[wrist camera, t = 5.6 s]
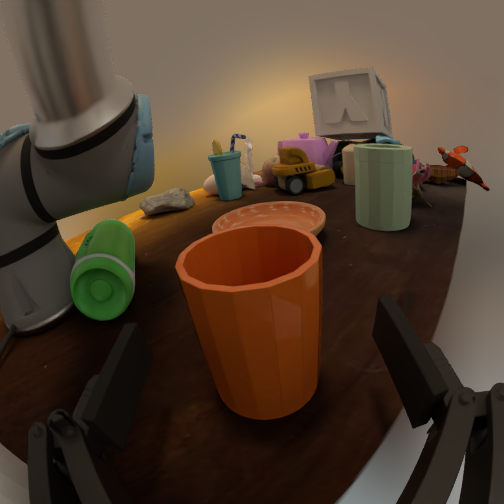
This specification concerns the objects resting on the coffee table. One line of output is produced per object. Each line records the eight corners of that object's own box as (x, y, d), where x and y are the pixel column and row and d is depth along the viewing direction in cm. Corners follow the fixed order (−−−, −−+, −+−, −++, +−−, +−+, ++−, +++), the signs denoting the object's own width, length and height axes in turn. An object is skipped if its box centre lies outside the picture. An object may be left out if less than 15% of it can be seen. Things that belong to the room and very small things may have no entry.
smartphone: (237, 186, 72) (234, 175, 85) (238, 189, 72) (235, 178, 85) (265, 182, 72) (258, 173, 85) (265, 186, 72) (258, 176, 86)
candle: (344, 180, 68) (341, 143, 64) (364, 180, 66) (362, 143, 62) (343, 185, 64) (341, 145, 60) (365, 185, 62) (364, 145, 58)
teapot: (268, 178, 80) (263, 136, 74) (293, 170, 88) (288, 132, 82) (328, 183, 67) (324, 133, 61) (348, 174, 74) (345, 131, 69)
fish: (446, 126, 54) (446, 141, 66) (427, 162, 60) (429, 171, 72) (502, 169, 46) (493, 177, 57) (483, 206, 51) (476, 209, 63)
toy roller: (339, 186, 62) (335, 142, 57) (285, 198, 59) (279, 150, 54) (319, 180, 70) (315, 141, 65) (269, 191, 66) (263, 148, 62)
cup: (265, 196, 62) (257, 130, 56) (239, 205, 58) (229, 134, 51) (228, 191, 72) (219, 135, 65) (203, 199, 67) (193, 140, 61)
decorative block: (338, 140, 86) (331, 86, 80) (392, 138, 74) (384, 81, 68) (315, 135, 71) (307, 71, 65) (382, 132, 60) (371, 62, 54)
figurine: (235, 176, 79) (235, 136, 73) (260, 176, 80) (260, 136, 74) (237, 182, 73) (236, 138, 67) (263, 182, 73) (264, 138, 68)
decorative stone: (156, 222, 56) (150, 200, 53) (136, 217, 63) (131, 197, 61) (201, 204, 63) (197, 183, 61) (177, 201, 70) (173, 183, 68)
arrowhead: (220, 164, 68) (239, 195, 67) (225, 158, 67) (245, 190, 66) (240, 162, 74) (259, 191, 74) (245, 157, 73) (264, 187, 72)
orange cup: (305, 429, 14) (306, 298, 10) (199, 405, 16) (147, 281, 12) (325, 348, 20) (327, 224, 16) (238, 337, 22) (215, 223, 18)
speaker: (63, 317, 23) (129, 330, 27) (68, 253, 21) (141, 269, 25) (86, 255, 38) (130, 265, 42) (94, 211, 36) (140, 222, 40)
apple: (274, 194, 69) (258, 167, 66) (269, 187, 76) (255, 162, 72) (301, 180, 68) (287, 152, 64) (294, 173, 75) (281, 149, 71)
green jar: (414, 232, 36) (417, 150, 31) (355, 230, 39) (353, 148, 34) (404, 212, 43) (405, 144, 38) (355, 210, 47) (353, 143, 41)
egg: (234, 180, 73) (206, 187, 73) (230, 165, 68) (200, 173, 69) (236, 195, 70) (206, 202, 70) (232, 179, 65) (200, 187, 66)
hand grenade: (327, 161, 75) (343, 164, 66) (340, 158, 75) (357, 161, 66) (330, 176, 77) (346, 181, 68) (343, 172, 77) (360, 177, 68)
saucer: (245, 277, 31) (241, 253, 29) (201, 236, 44) (197, 218, 43) (349, 237, 37) (349, 216, 35) (285, 211, 50) (284, 195, 48)
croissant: (460, 163, 52) (462, 181, 52) (456, 172, 58) (458, 189, 58) (414, 160, 59) (415, 178, 59) (413, 169, 65) (414, 186, 65)
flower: (378, 215, 52) (371, 171, 54) (417, 216, 51) (409, 174, 53) (401, 196, 41) (390, 145, 42) (445, 199, 40) (433, 150, 42)
